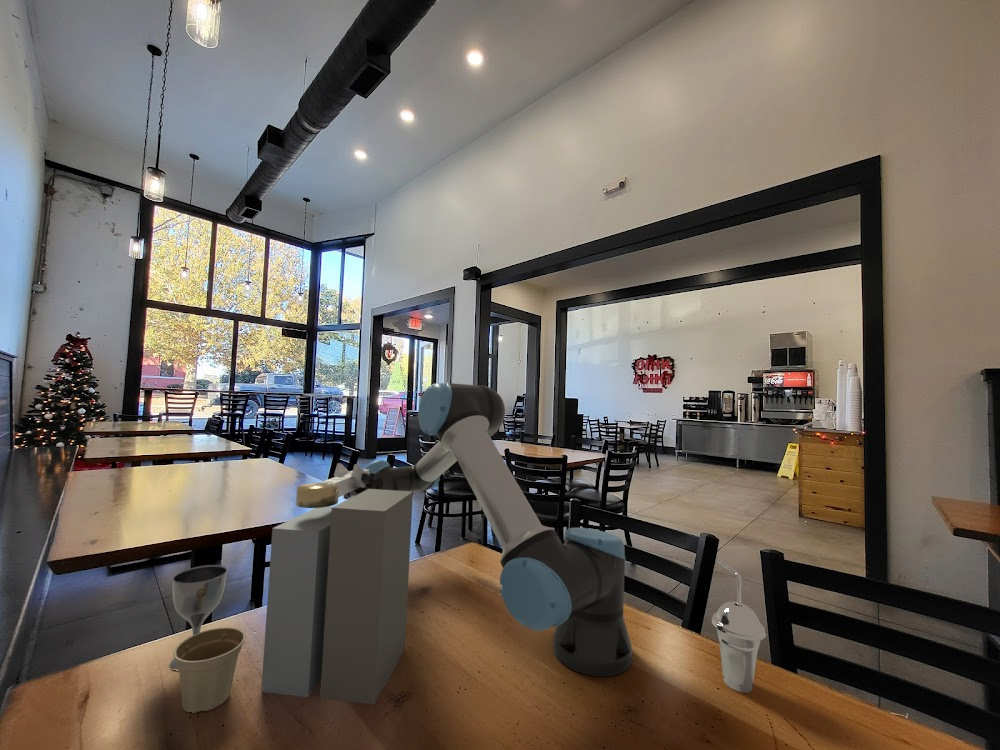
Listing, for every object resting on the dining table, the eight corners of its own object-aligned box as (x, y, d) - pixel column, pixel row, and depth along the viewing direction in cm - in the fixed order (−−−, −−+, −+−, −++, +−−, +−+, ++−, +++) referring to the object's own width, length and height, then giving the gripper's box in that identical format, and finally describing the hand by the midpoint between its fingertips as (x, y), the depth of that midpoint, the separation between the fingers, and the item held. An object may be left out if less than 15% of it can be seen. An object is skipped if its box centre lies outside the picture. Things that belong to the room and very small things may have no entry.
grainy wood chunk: (377, 483, 96) (378, 470, 96) (325, 509, 73) (326, 491, 73) (347, 481, 97) (348, 468, 97) (287, 506, 74) (288, 489, 74)
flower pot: (215, 724, 62) (220, 663, 62) (151, 721, 62) (157, 659, 62) (254, 682, 71) (258, 628, 71) (199, 678, 71) (203, 625, 72)
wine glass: (226, 659, 76) (232, 574, 77) (171, 679, 71) (178, 587, 72) (214, 641, 82) (220, 561, 83) (162, 658, 76) (169, 572, 77)
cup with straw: (718, 695, 72) (719, 574, 73) (705, 663, 81) (706, 556, 82) (774, 705, 70) (774, 581, 71) (754, 671, 79) (754, 562, 80)
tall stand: (404, 649, 82) (412, 491, 83) (374, 704, 67) (384, 511, 69) (359, 644, 83) (368, 488, 84) (320, 698, 68) (331, 507, 69)
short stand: (350, 643, 83) (357, 508, 84) (308, 697, 68) (318, 531, 69) (311, 639, 84) (319, 505, 85) (261, 691, 69) (272, 528, 70)
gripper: (407, 521, 104) (379, 490, 85) (345, 516, 106) (303, 485, 87) (413, 491, 109) (387, 455, 89) (353, 487, 110) (314, 451, 91)
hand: (346, 470), depth 88 cm, fingers closed on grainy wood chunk, 3 cm apart
